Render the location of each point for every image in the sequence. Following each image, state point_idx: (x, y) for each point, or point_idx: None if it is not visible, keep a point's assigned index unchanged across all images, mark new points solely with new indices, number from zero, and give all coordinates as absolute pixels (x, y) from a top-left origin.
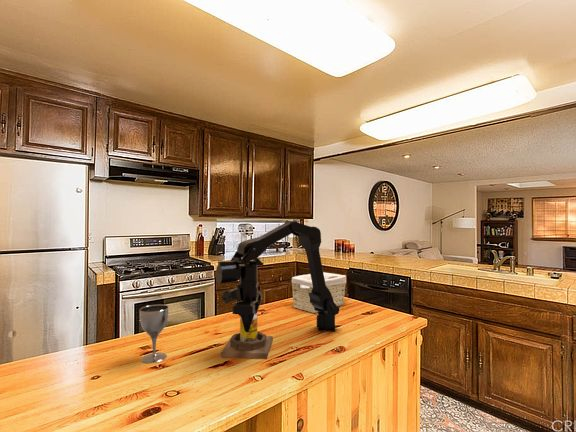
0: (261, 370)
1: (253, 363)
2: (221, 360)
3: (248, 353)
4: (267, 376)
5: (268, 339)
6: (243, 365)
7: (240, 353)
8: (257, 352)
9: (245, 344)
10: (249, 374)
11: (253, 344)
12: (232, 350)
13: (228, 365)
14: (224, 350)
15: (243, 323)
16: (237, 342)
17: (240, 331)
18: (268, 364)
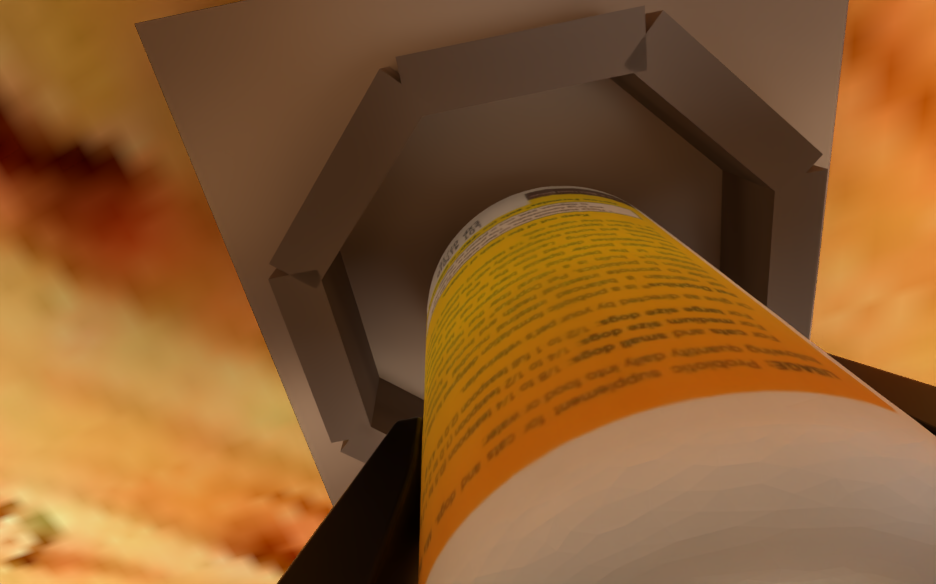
0: (130, 521)
1: (211, 429)
2: (93, 84)
3: (284, 376)
4: (72, 579)
5: None
6: (126, 368)
7: (252, 292)
8: (327, 455)
9: (306, 370)
10: (13, 471)
11: (350, 451)
12: (259, 172)
13: (36, 230)
14: (206, 52)
15: (293, 579)
16: (314, 245)
17: (485, 270)
18: (253, 531)
